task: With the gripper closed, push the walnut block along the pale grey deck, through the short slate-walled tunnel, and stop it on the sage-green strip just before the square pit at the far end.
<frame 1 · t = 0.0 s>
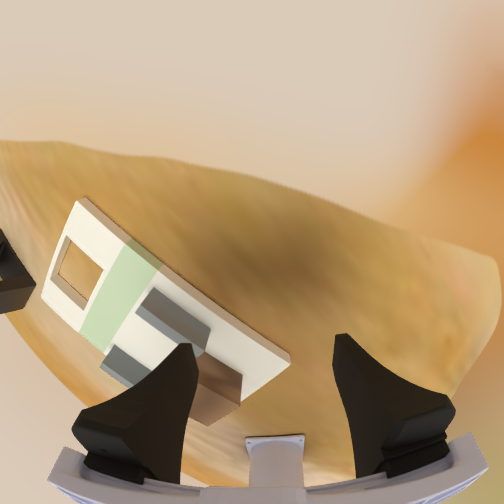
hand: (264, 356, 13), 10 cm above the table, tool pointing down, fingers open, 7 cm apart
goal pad: (117, 299, 24), on the table
deck: (176, 343, 25), on the table
block: (206, 375, 25), point 1 cm above the table, touching deck
black open bin: (12, 268, 24), on the table
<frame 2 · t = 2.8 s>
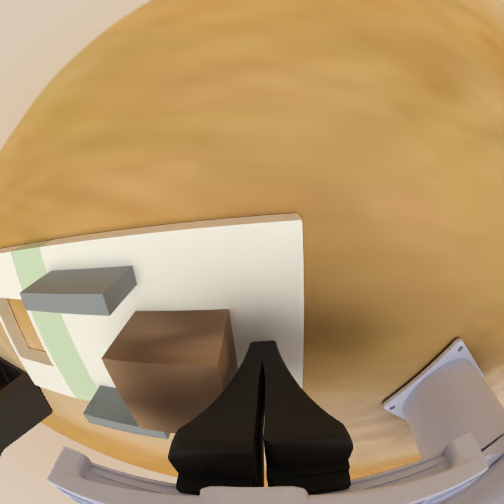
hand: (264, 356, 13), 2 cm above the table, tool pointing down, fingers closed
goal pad: (66, 327, 16), on the table
deck: (149, 333, 15), on the table
block: (189, 349, 14), point 2 cm above the table, touching gripper
black open bin: (20, 380, 20), on the table
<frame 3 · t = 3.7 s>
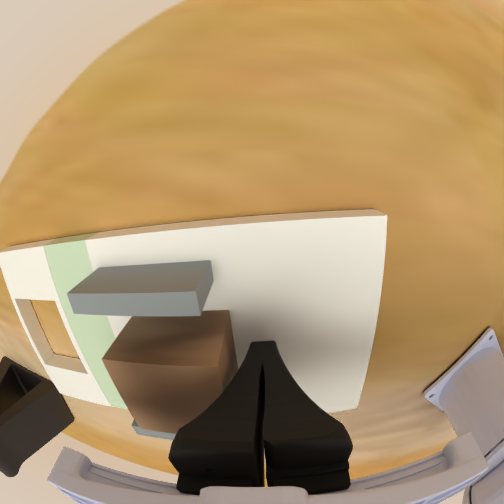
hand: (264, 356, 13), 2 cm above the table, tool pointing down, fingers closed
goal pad: (106, 330, 16), on the table
deck: (211, 333, 15), on the table
block: (189, 350, 14), point 1 cm above the table, touching deck, gripper
black open bin: (38, 387, 20), on the table
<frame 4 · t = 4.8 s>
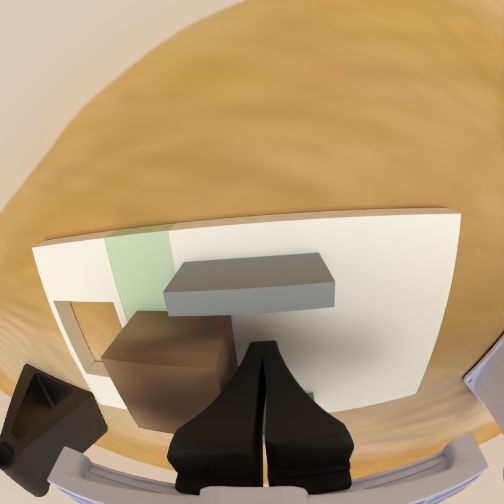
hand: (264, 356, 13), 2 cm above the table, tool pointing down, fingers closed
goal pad: (170, 333, 15), on the table
deck: (294, 328, 15), on the table
block: (190, 350, 14), point 2 cm above the table, touching gripper
black open bin: (66, 396, 19), on the table
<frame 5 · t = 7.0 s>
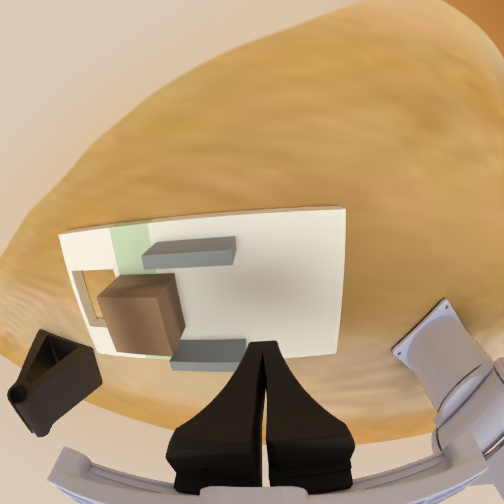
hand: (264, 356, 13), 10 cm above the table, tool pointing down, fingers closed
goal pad: (150, 292, 23), on the table
deck: (230, 290, 23), on the table
block: (152, 301, 21), point 1 cm above the table, touching deck, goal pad
black open bin: (70, 355, 27), on the table
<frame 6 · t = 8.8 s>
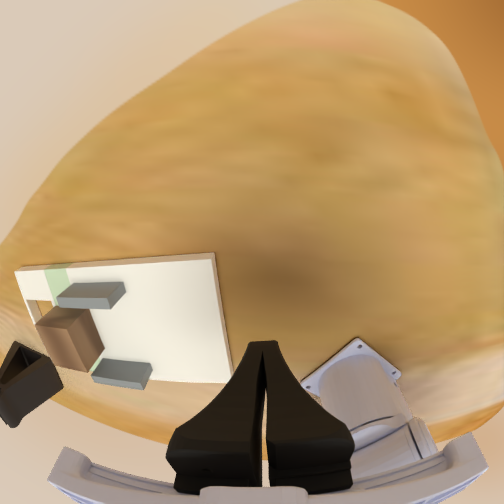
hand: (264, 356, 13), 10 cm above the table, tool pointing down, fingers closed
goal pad: (80, 319, 25), on the table
deck: (135, 321, 24), on the table
block: (79, 327, 23), point 1 cm above the table, touching deck, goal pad
black open bin: (38, 363, 29), on the table
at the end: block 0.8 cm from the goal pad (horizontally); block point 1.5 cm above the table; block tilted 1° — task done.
